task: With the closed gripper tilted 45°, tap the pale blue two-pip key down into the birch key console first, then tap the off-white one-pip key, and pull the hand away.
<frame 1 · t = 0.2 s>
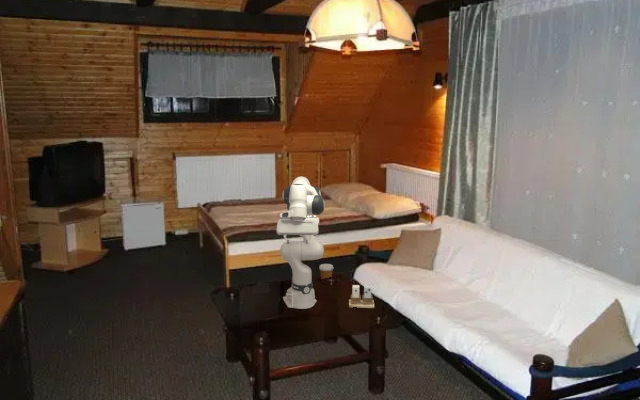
hand: (297, 243, 253), 54 cm above the table, tool tilted 30°, fingers open, 8 cm apart
cassette: (300, 287, 348), on the table
key two: (367, 292, 317), point 8 cm above the table, slide at 0.0 cm
key one: (355, 292, 317), point 8 cm above the table, slide at 0.0 cm
key console: (361, 304, 319), on the table
disposable coffee cup: (326, 283, 355), on the table
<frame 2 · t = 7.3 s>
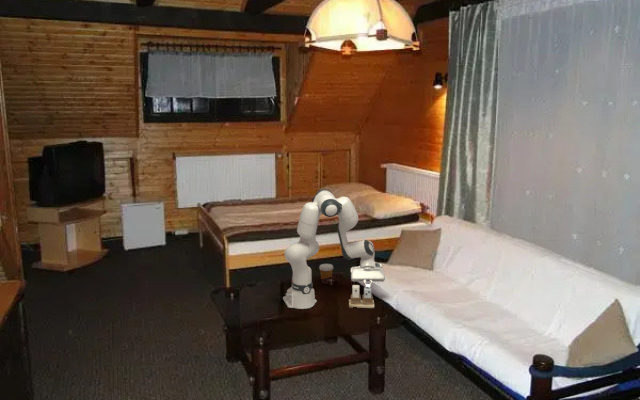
hand: (368, 287, 316), 11 cm above the table, tool tilted 45°, fingers closed, pressing on key two
key two: (367, 294, 317), point 6 cm above the table, slide at 1.3 cm, touching gripper
everything else where it was.
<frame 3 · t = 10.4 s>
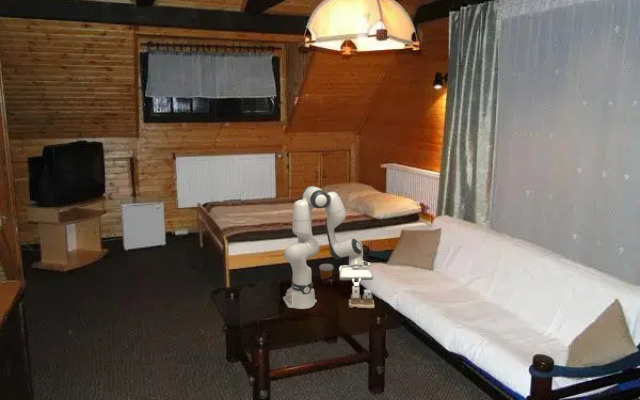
hand: (356, 286, 317), 12 cm above the table, tool tilted 45°, fingers closed
key two: (367, 296, 317), point 5 cm above the table, slide at 2.7 cm
key one: (355, 293, 317), point 7 cm above the table, slide at 0.6 cm, touching gripper
everything else where it was.
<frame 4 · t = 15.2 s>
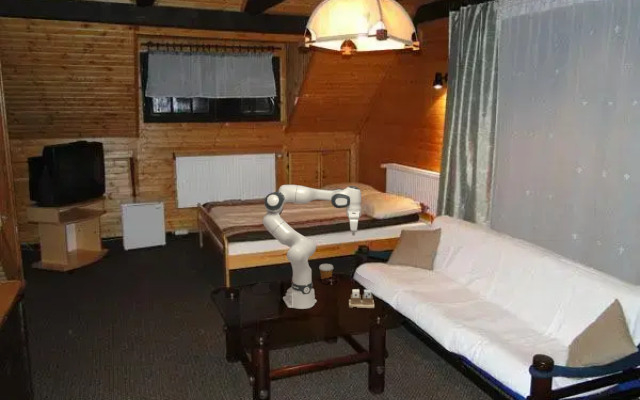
hand: (353, 234, 325), 39 cm above the table, tool pointing down, fingers closed
key one: (355, 296, 318), point 5 cm above the table, slide at 2.7 cm
everything else where it was.
at the end: key two slide at 2.7 cm; key one slide at 2.7 cm; disposable coffee cup moved 0.2 cm from its start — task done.
